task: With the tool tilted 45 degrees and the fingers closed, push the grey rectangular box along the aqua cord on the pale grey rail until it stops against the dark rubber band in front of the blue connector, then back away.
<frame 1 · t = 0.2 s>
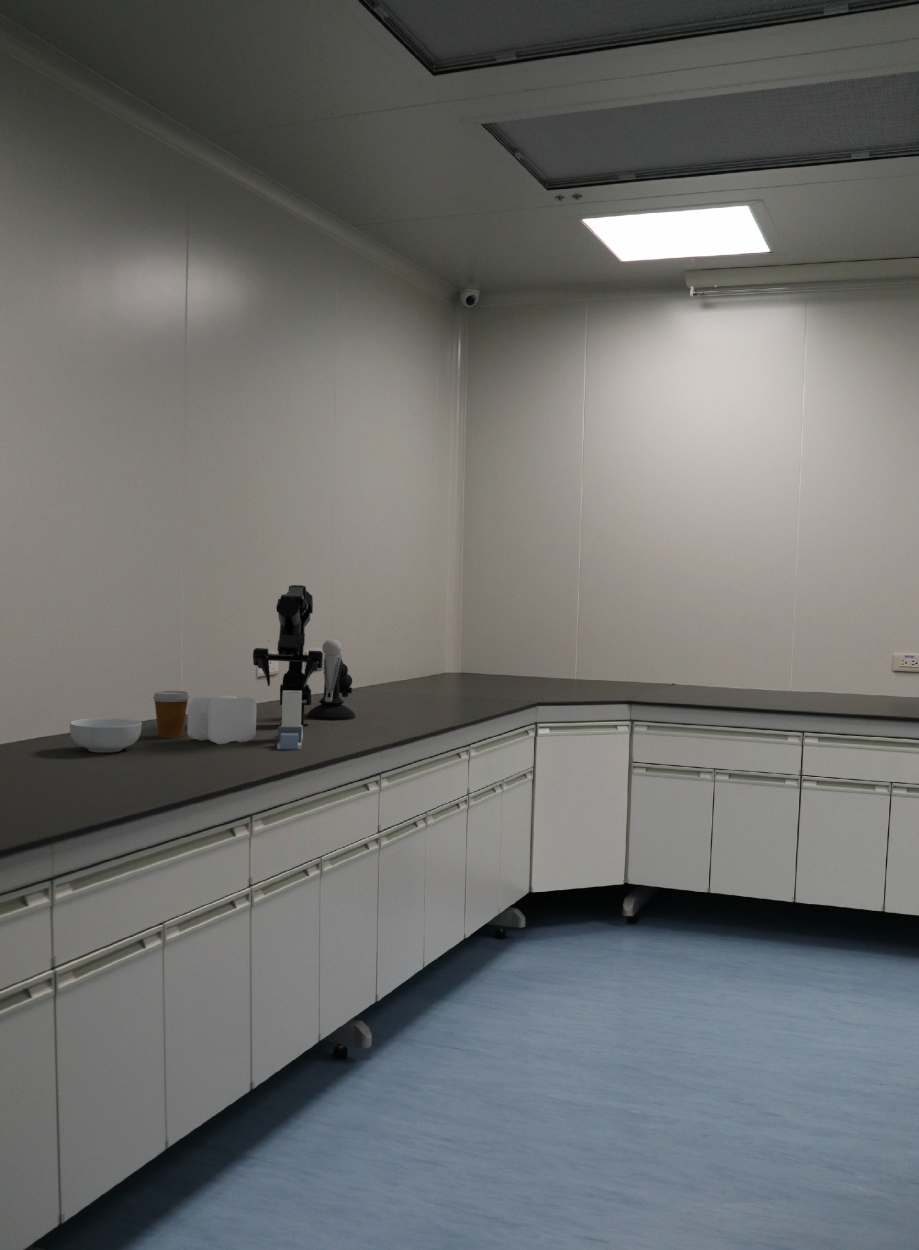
hand: (286, 686, 281), 15 cm above the worktop, tool tilted 30°, fingers open, 9 cm apart
grey rectangular box: (291, 713, 284), point 7 cm above the worktop, slide at 0.0 cm
cord rail: (290, 740, 283), on the worktop
cable organizer: (221, 741, 279), on the worktop
cereal bowl: (105, 751, 259), on the worktop
disposable coffee cup: (170, 737, 283), on the worktop
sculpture: (334, 716, 337), on the worktop
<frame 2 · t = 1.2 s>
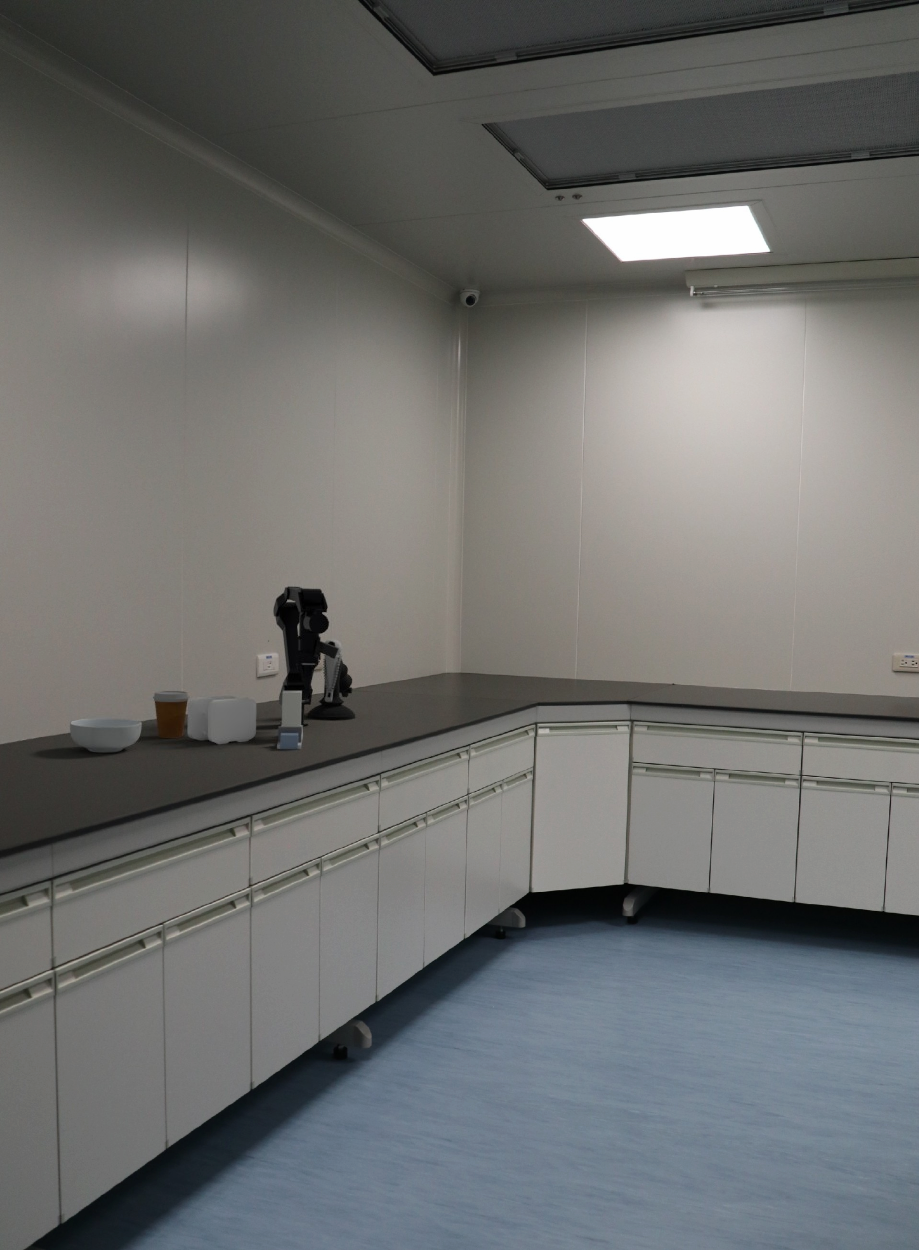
hand: (308, 686, 299), 13 cm above the worktop, tool pointing down, fingers open, 9 cm apart
nothing on the worktop moved.
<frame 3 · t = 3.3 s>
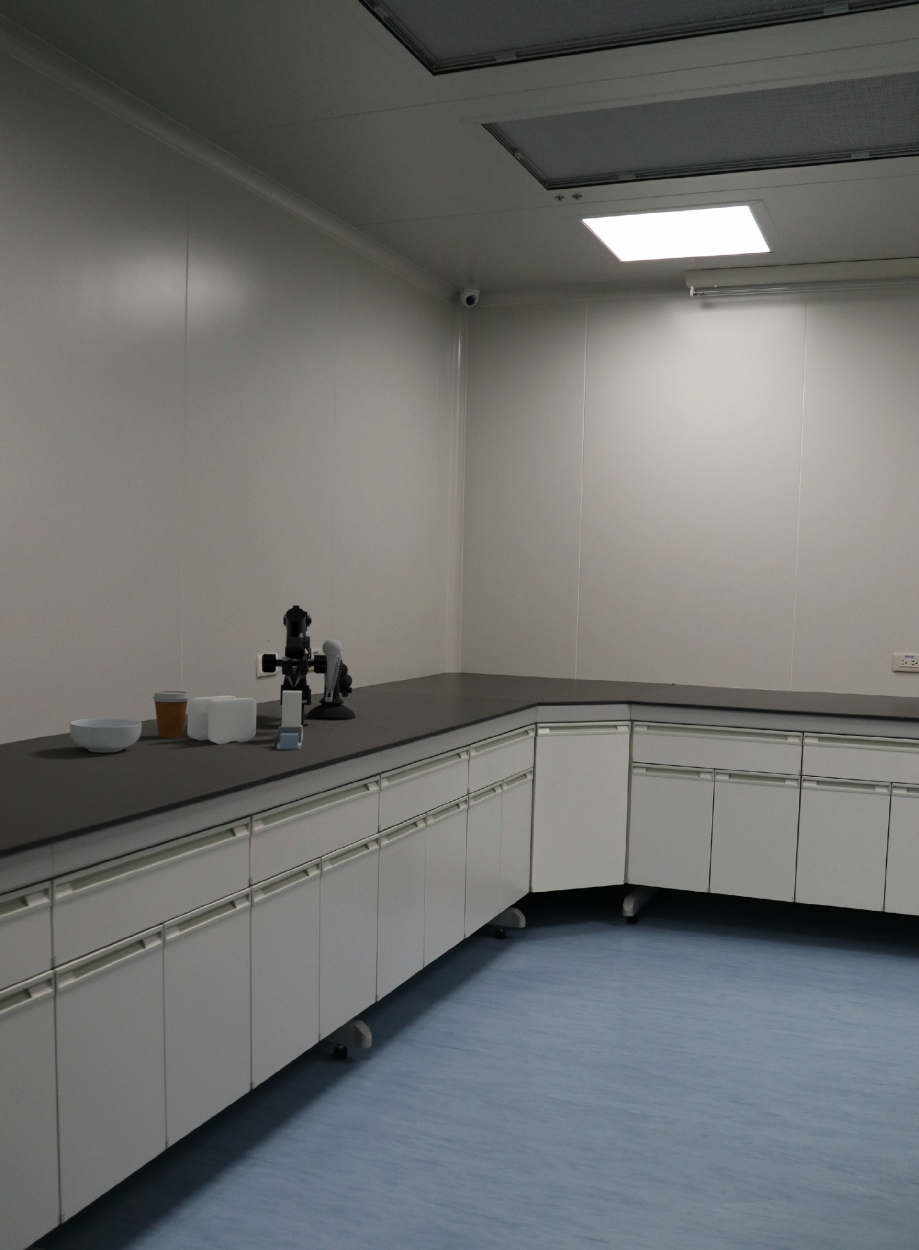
hand: (293, 686, 297), 13 cm above the worktop, tool tilted 45°, fingers closed
nothing on the worktop moved.
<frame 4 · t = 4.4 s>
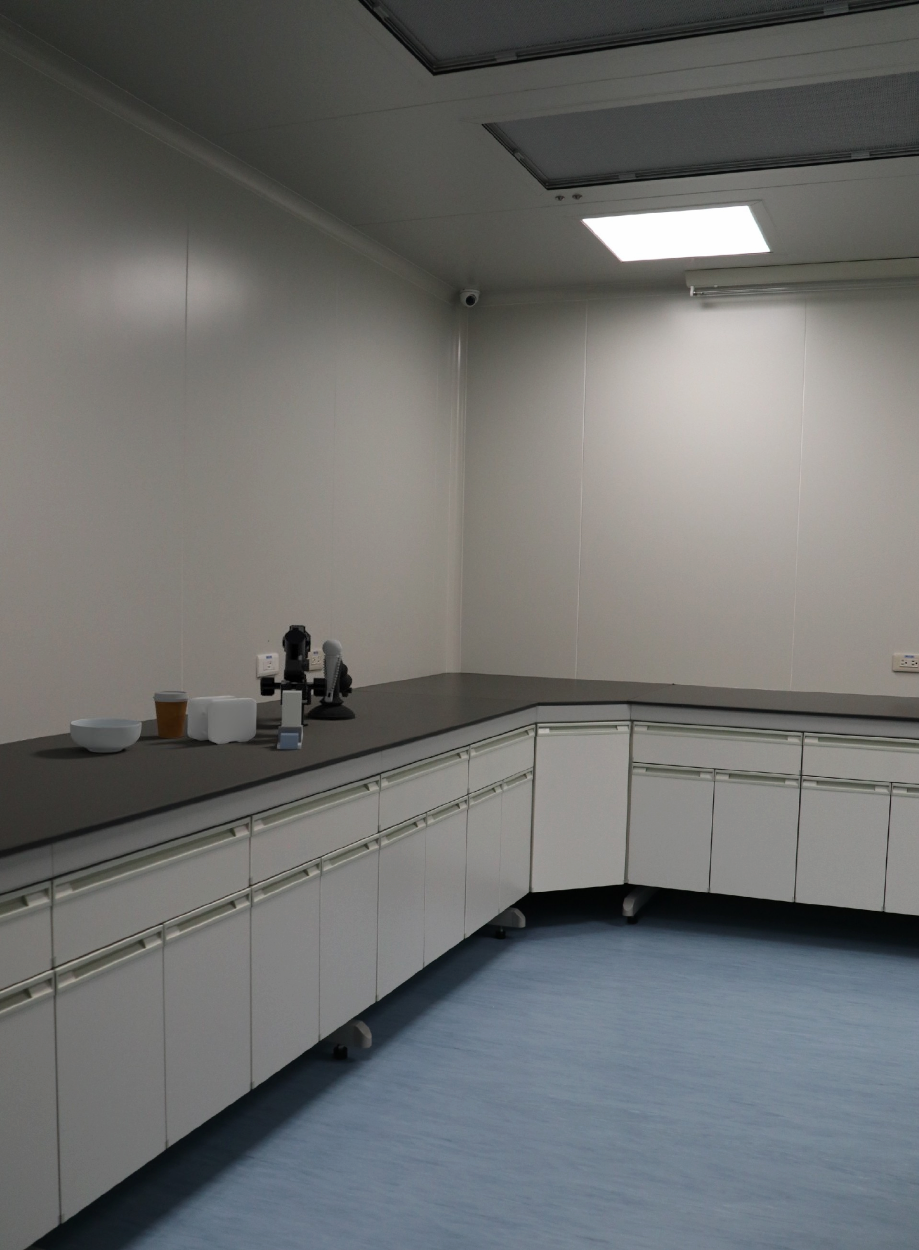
hand: (292, 710, 291), 7 cm above the worktop, tool tilted 45°, fingers closed
nothing on the worktop moved.
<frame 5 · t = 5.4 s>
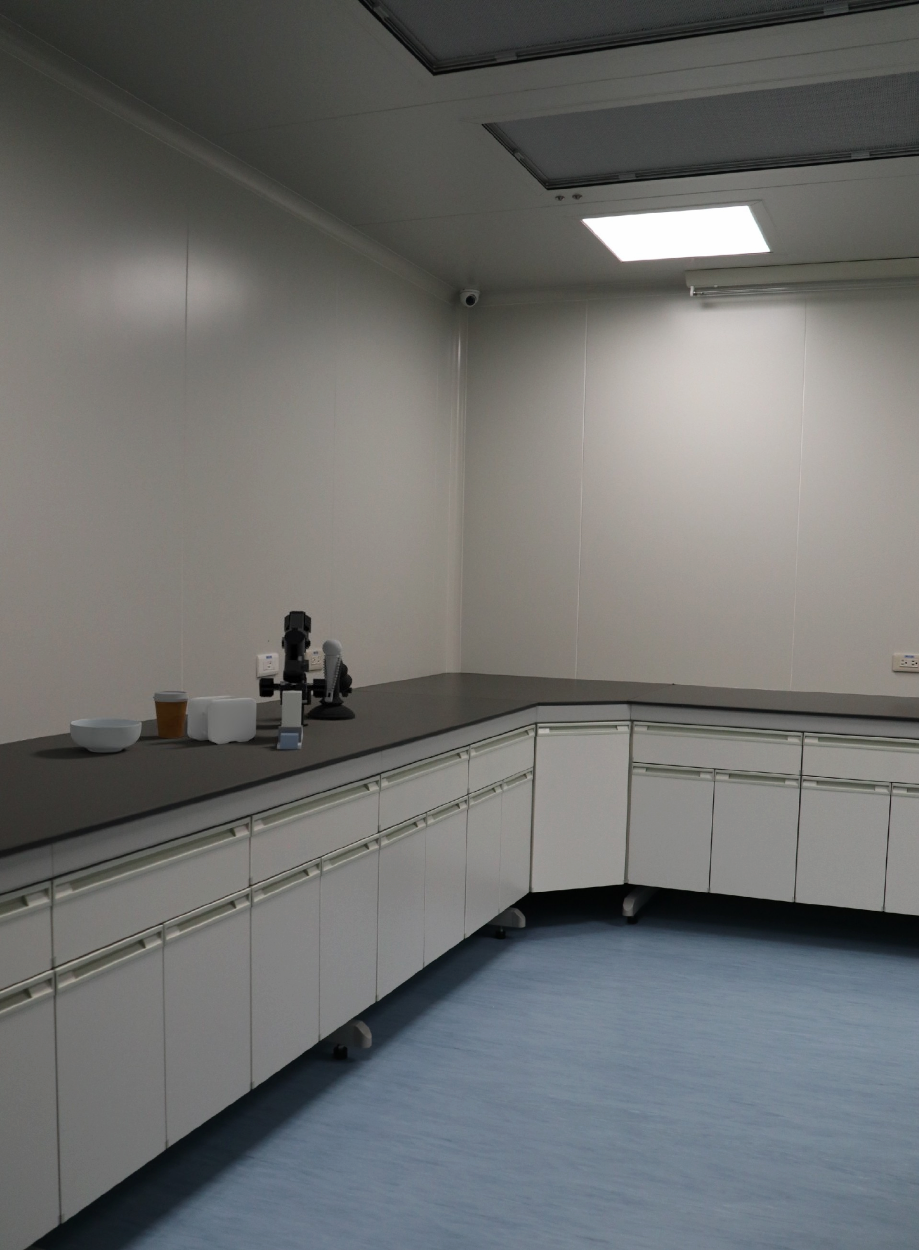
hand: (292, 711, 287), 7 cm above the worktop, tool tilted 45°, fingers closed, pressing on grey rectangular box
grey rectangular box: (291, 713, 284), point 7 cm above the worktop, slide at 0.5 cm, touching gripper
everything else where it was.
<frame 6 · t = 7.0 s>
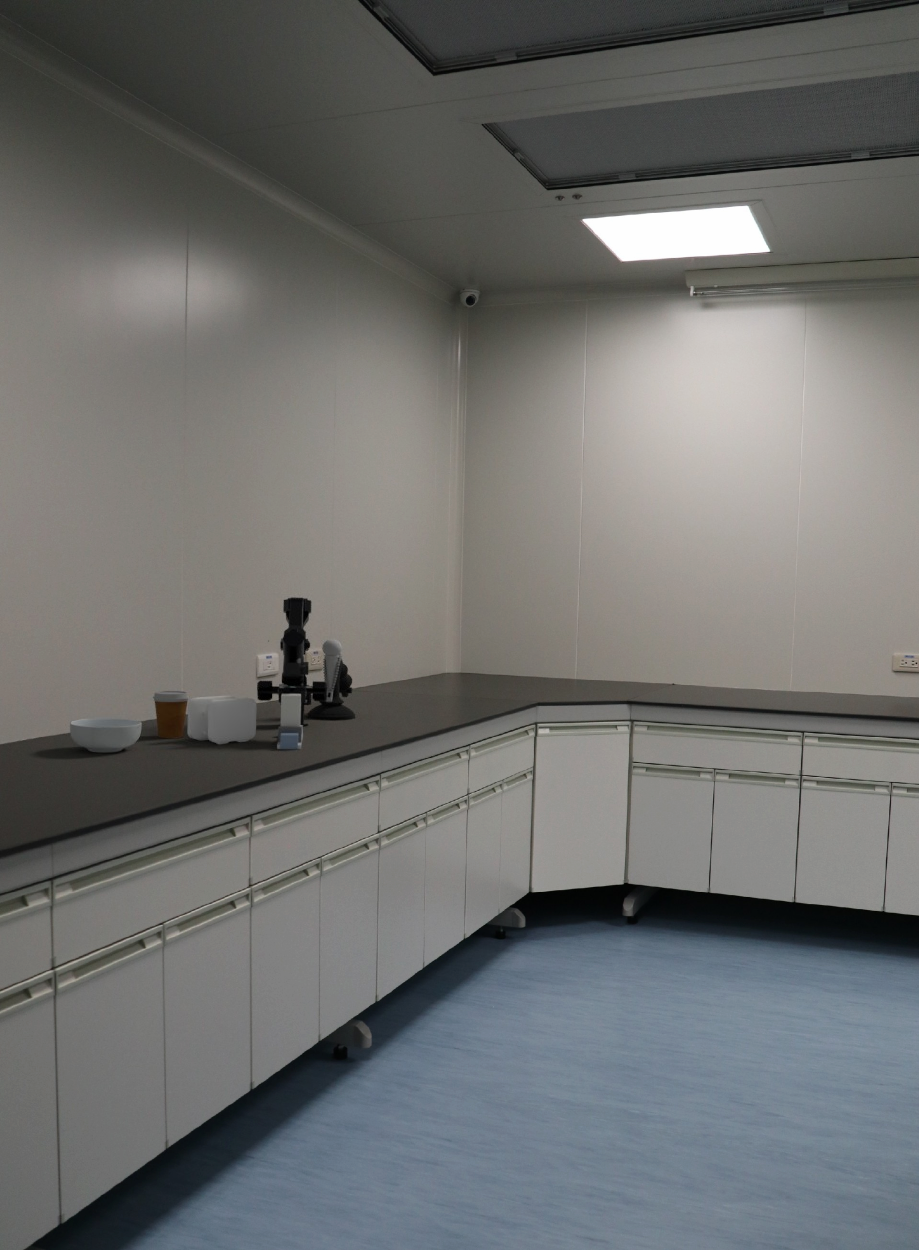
hand: (291, 715, 279), 7 cm above the worktop, tool tilted 45°, fingers closed, pressing on grey rectangular box
grey rectangular box: (290, 716, 277), point 7 cm above the worktop, slide at 7.9 cm, touching gripper
everything else where it was.
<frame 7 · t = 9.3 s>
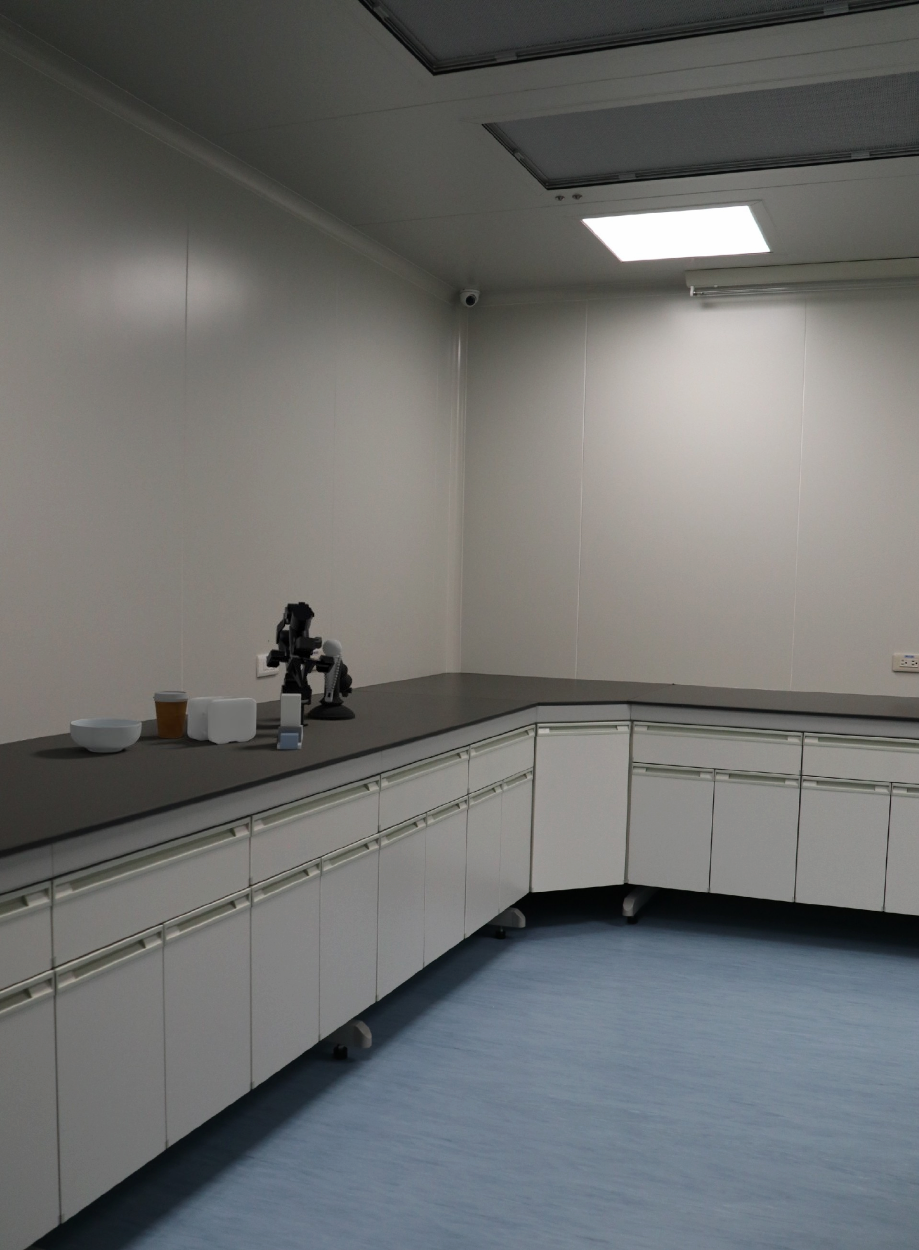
hand: (302, 686, 294), 13 cm above the worktop, tool tilted 35°, fingers closed
grey rectangular box: (290, 716, 276), point 7 cm above the worktop, slide at 8.0 cm
everything else where it was.
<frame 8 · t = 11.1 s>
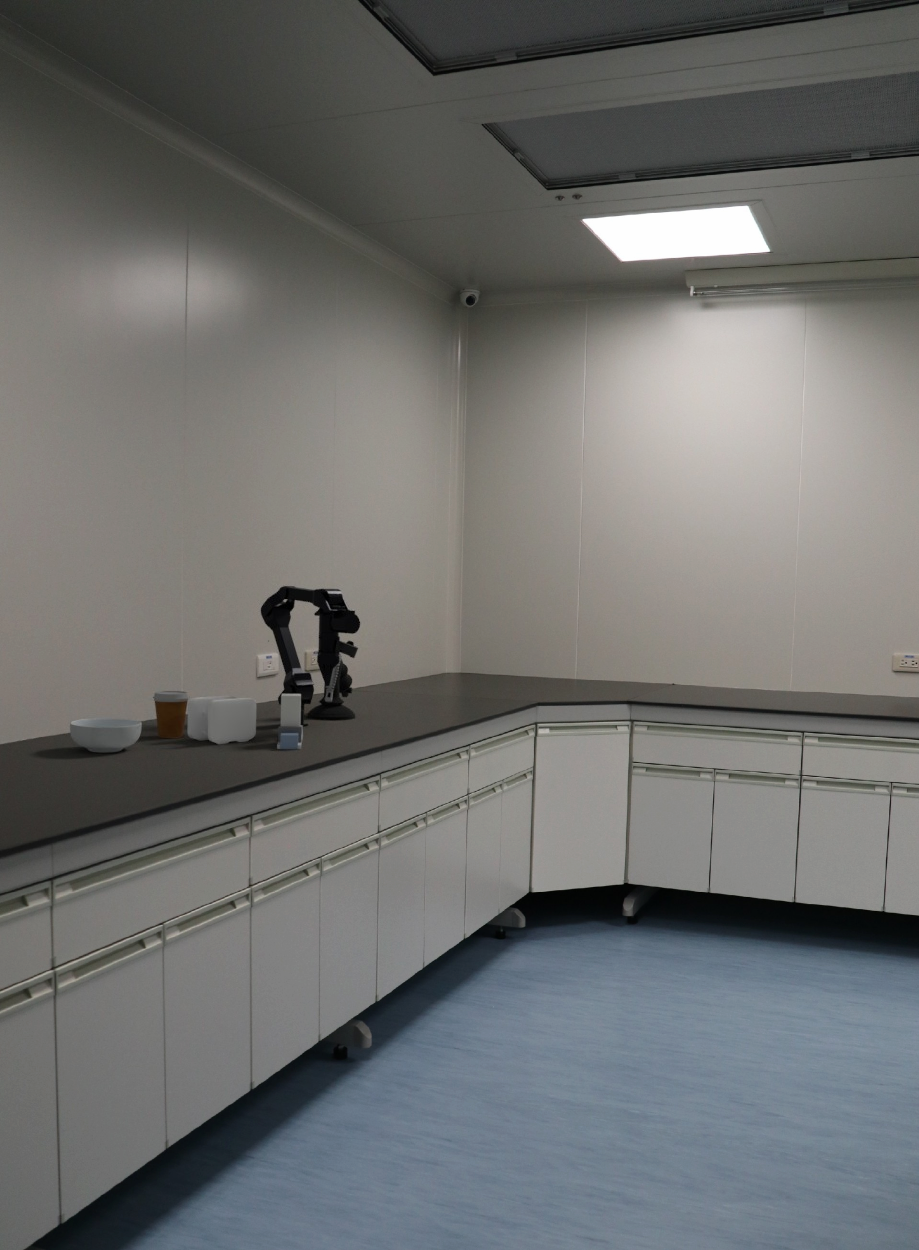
hand: (327, 685, 302), 13 cm above the worktop, tool pointing down, fingers closed
nothing on the worktop moved.
at the end: grey rectangular box slide at 8.0 cm; the gripper is holding nothing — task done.
